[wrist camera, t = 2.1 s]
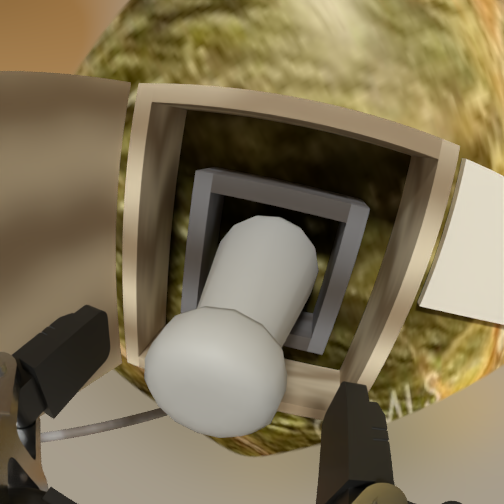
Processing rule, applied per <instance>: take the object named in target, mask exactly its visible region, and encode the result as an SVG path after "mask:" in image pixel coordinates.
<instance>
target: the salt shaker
mask: <svg viewBox="0 0 504 504" xmlns="http://www.w3.org/2000/svg"><path fill="white" fill-rule="evenodd" d="M317 274H318V265H317V257H316V250H315V247H314V245H313V244H312V243H311V241H310V240H309V239H308V237H307V236H306V235H305V233H304V232H303V230H302V229H301V228H300V227H298V226H296V225H295V224H293V223H291V222H289V221H288V220H286V219H284V218H282V217H280V216H262V215H257V216H254V217H252V218H250V219H247V220H245V221H242V222H240V223H238V224H235V225H234V226H233V227H232V228H231V229H230V231H229V232H228V233H227V234H226V235H225V237H224V238H223V239H222V240H221V242H220V244H219V247H218V250H217V252H216V255H215V258H214V261H213V264H212V266H211V269H210V272H209V275H208V278H207V281H206V284H205V286H204V289H203V292H202V295H201V298H200V301H199V304H198V307H197V309H194V310H191V311H188V312H184V313H181V314H179V315H176V316H175V317H174V318H173V319H172V320H171V321H170V322H169V323H168V324H167V325H166V326H165V327H164V329H163V330H162V331H161V332H160V334H159V335H158V336H157V338H156V339H155V340H154V341H153V343H152V344H151V346H150V348H149V350H148V352H147V355H146V357H145V373H144V379H145V381H146V383H147V386H148V388H149V390H150V392H151V394H152V395H153V397H154V399H155V401H156V403H157V404H158V406H159V407H160V408H161V409H162V410H163V411H164V412H165V413H166V414H167V415H169V416H170V417H171V418H172V419H173V420H174V421H175V422H177V423H179V424H181V425H183V426H185V427H187V428H189V429H191V430H193V431H195V432H197V433H201V434H205V435H209V436H214V437H218V438H225V437H236V436H244V435H248V434H251V433H253V432H255V431H257V430H259V429H261V428H263V427H265V426H267V425H268V424H270V423H271V422H272V419H273V417H274V415H275V413H276V411H277V409H278V407H279V405H280V402H281V400H282V398H283V396H284V393H285V391H286V386H287V371H286V366H285V360H284V355H283V351H282V346H283V344H284V342H285V341H286V339H287V337H288V335H289V333H290V331H291V330H292V328H293V326H294V324H295V322H296V320H297V318H298V317H299V315H300V313H301V311H302V309H303V307H304V305H305V303H306V301H307V299H308V298H309V296H310V294H311V292H312V289H313V286H314V283H315V280H316V277H317Z"/></svg>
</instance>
